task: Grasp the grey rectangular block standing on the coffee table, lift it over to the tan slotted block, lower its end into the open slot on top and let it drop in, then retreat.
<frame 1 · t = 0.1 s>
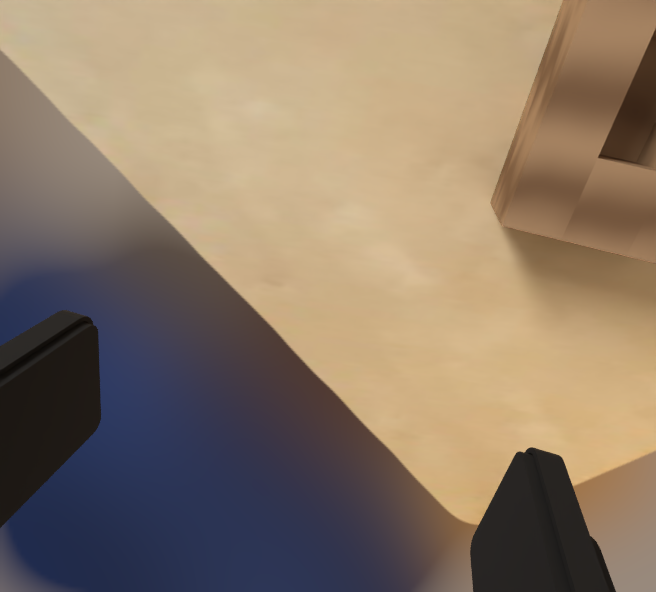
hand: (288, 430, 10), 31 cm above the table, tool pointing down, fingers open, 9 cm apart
tan slotted block: (619, 100, 32), on the table
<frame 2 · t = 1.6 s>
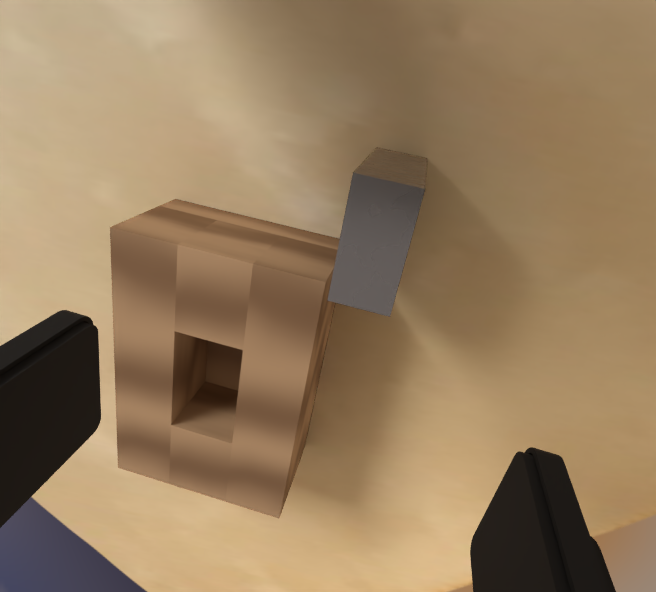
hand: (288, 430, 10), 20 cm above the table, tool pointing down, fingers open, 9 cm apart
tan slotted block: (246, 334, 34), on the table
grey rectangular block: (389, 202, 28), on the table
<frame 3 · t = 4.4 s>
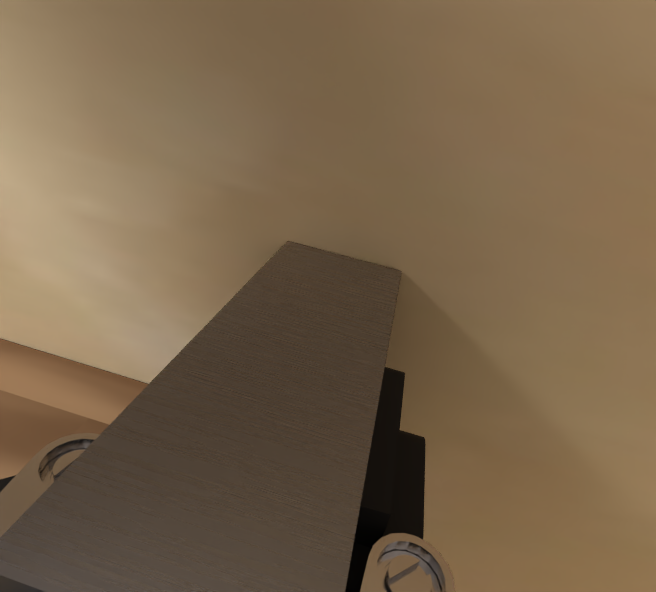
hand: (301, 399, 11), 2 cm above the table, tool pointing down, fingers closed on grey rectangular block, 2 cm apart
tan slotted block: (83, 537, 19), on the table
grey rectangular block: (321, 353, 13), on the table, touching gripper
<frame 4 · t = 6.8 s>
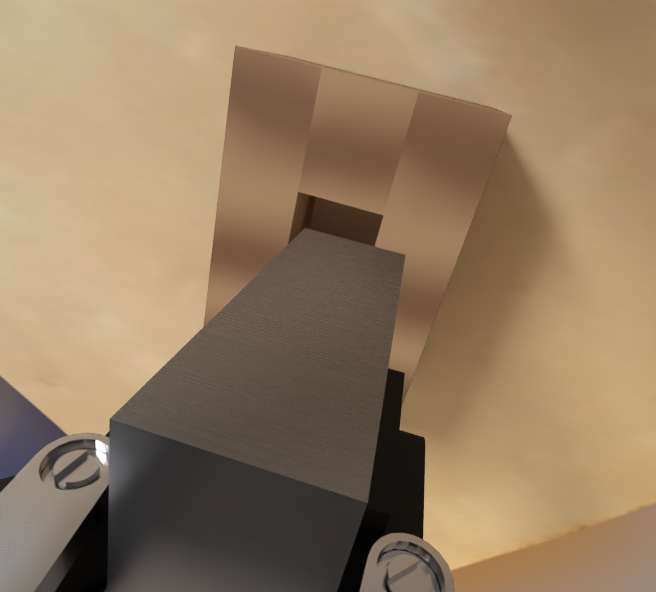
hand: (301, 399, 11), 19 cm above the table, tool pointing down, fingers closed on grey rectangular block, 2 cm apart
tan slotted block: (347, 231, 29), on the table
grey rectangular block: (332, 330, 14), point 16 cm above the table, touching gripper
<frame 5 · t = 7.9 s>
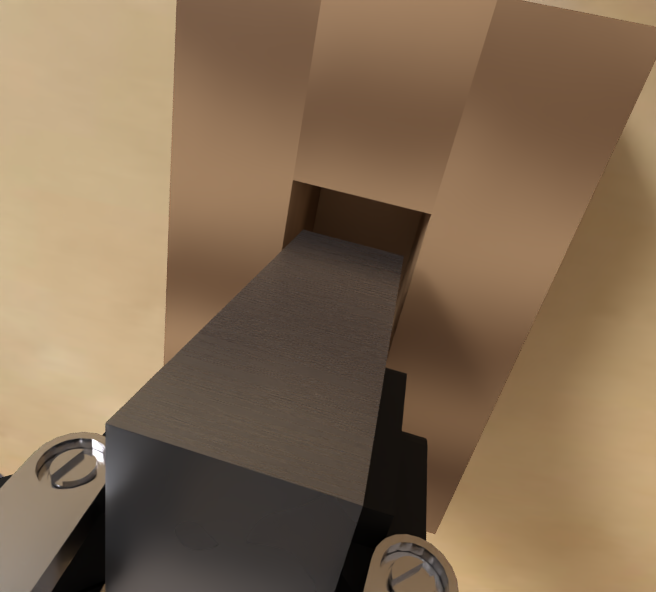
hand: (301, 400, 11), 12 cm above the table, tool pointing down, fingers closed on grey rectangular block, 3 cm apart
tan slotted block: (364, 238, 21), on the table
grey rectangular block: (331, 332, 14), point 8 cm above the table, touching gripper
when the fingers open (8 cm above the table, at t = 8.8 s): grey rectangular block drops 2 cm, resting on tan slotted block.
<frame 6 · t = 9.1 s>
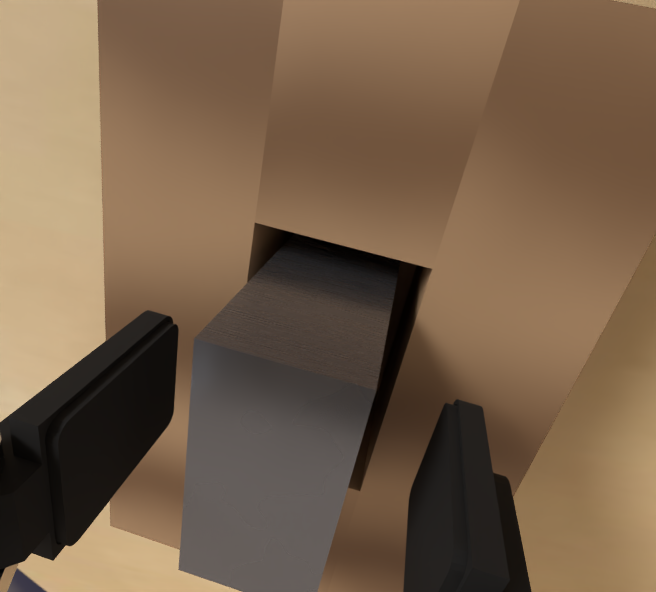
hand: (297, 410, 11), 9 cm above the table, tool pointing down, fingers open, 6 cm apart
tan slotted block: (354, 275, 18), on the table
grey rectangular block: (344, 298, 17), point 2 cm above the table, touching tan slotted block
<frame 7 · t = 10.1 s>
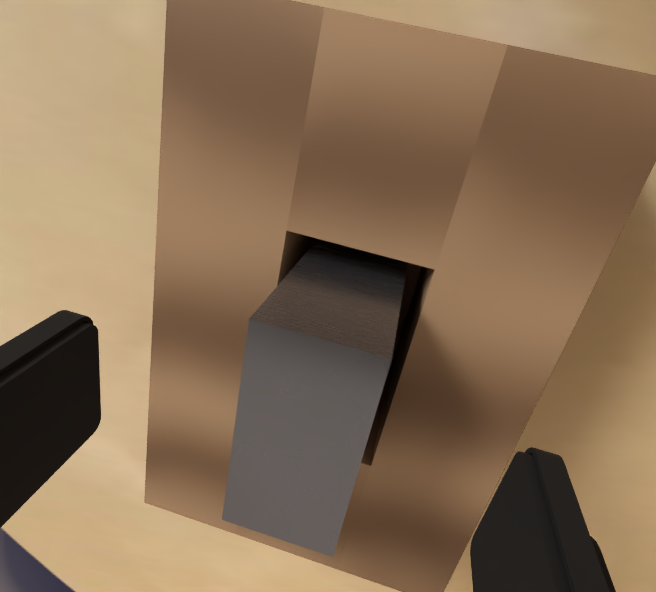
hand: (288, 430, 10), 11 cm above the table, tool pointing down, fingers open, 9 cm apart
tan slotted block: (364, 279, 20), on the table
grey rectangular block: (355, 299, 19), point 2 cm above the table, touching tan slotted block
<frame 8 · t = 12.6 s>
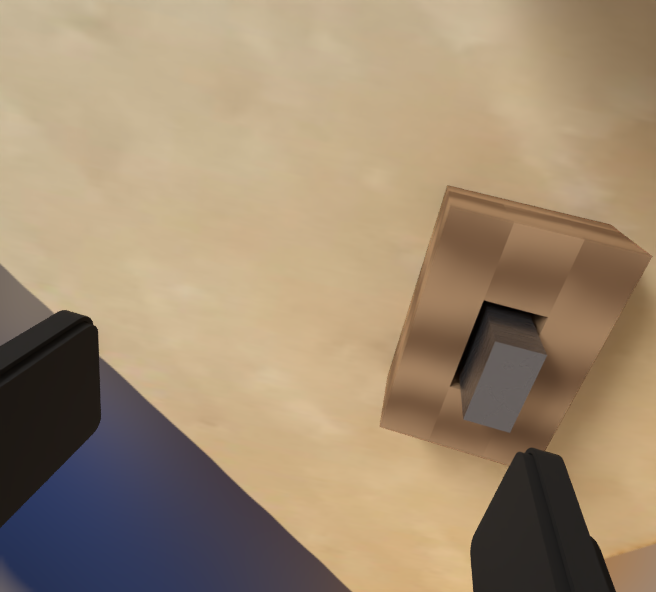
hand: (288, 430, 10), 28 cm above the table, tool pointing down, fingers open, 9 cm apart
tan slotted block: (485, 310, 38), on the table
grey rectangular block: (487, 322, 36), point 2 cm above the table, touching tan slotted block
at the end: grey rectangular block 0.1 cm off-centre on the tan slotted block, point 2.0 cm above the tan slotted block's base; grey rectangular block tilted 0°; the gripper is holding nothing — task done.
